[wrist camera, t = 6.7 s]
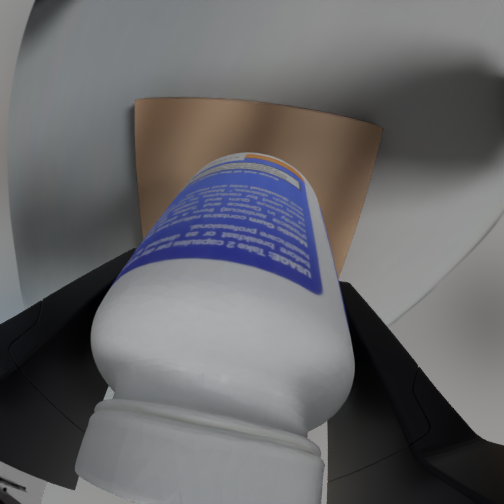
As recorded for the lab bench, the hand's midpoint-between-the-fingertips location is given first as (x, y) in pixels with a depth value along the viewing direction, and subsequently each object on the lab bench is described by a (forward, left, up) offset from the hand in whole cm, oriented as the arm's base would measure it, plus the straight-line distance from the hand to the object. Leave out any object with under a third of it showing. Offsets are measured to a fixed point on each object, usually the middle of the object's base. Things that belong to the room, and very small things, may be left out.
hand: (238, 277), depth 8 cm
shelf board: (+1, +3, -12) cm, 12 cm away
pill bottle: (0, 0, -4) cm, 4 cm away
